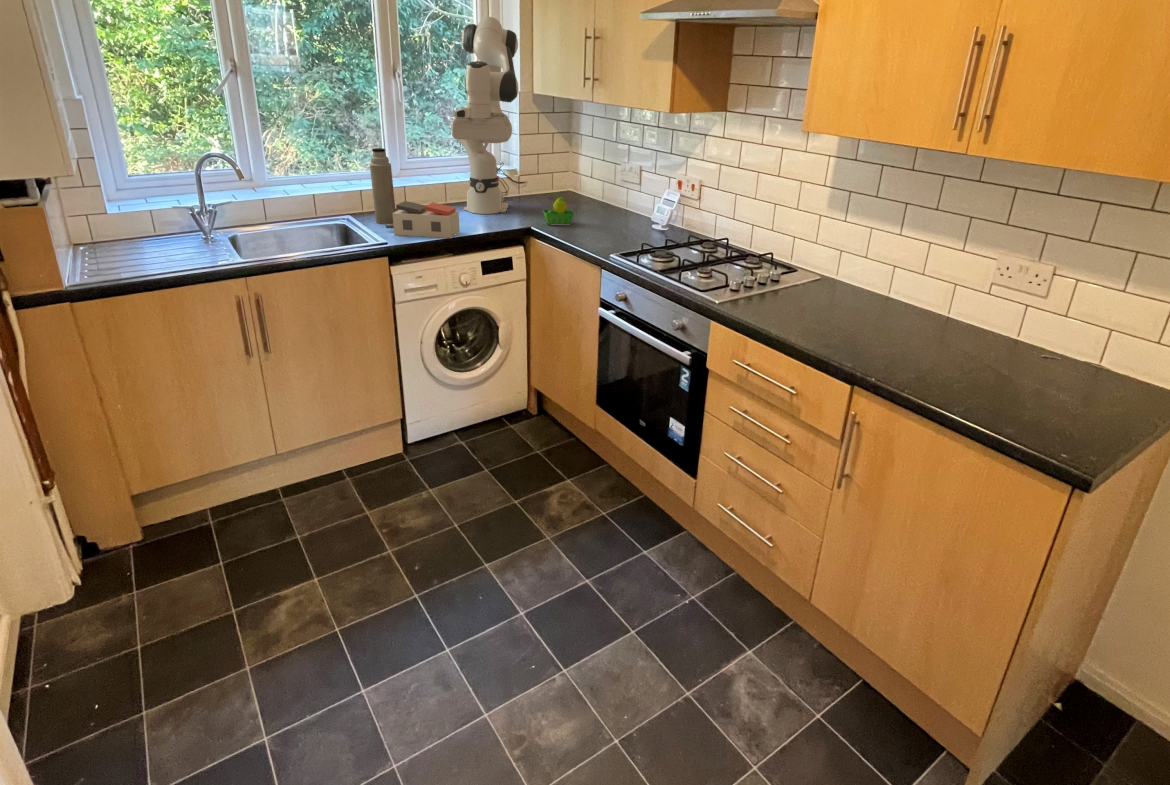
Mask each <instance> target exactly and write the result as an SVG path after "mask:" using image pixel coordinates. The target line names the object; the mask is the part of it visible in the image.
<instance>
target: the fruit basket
mask: <svg viewBox="0 0 1170 785" xmlns="http://www.w3.org/2000/svg"><path fill="white" fill-rule="evenodd" d="M567 206H568V205H567V203H566V201H565V198H564V197H562V196H560V197H558V198H556V200H555V201H554V203H553V204H552V207H553V208H552V209H544V210H542V212H543V215H544V220H545V223H546V222H547V223H548V224H549V225H551V224H572V220H573V217H574V211H572V210H571V209H568V208H567ZM547 223H546V224H547ZM548 224H547V225H548Z"/></svg>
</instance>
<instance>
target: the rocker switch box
mask: <svg viewBox="0 0 1170 785" xmlns="http://www.w3.org/2000/svg"><path fill="white" fill-rule="evenodd" d="M395 211H396V212H394V213H392V214H393V223H392V224H385V229H393V232H394V236H404V235H408V236H407V237H421V236H426V238H438V237H449V238H448V239H452V238H454V237H455V236H456V235H455V234H457V233H458V232H459V233H460V232H461V231H460V213H459V210H455V212H453V213H452V214H450V215H449V216H447V215H443V214H435V212H430V211H424V212H422V213H420V214H417V213H413V212H410V213H407V212H406V211H404V210H399V209H397V210H395ZM459 233H458V234H459ZM458 234H457V235H458ZM454 235H455V236H454ZM453 236H454V237H453ZM451 237H452V238H451Z"/></svg>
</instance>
